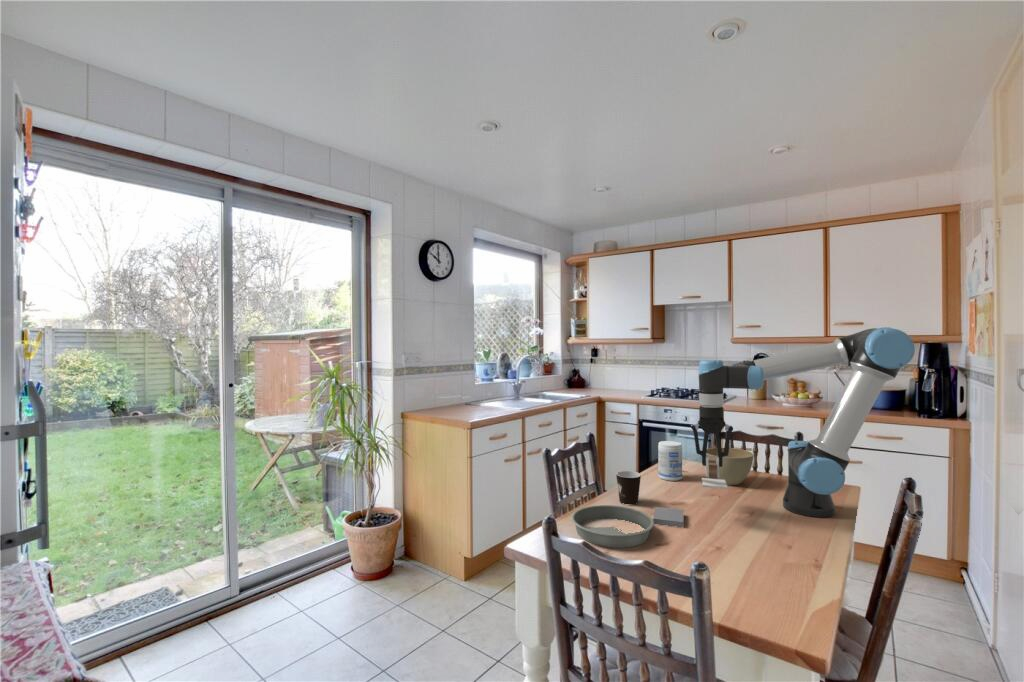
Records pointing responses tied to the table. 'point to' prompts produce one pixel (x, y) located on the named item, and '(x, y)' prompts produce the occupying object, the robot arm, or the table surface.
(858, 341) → the robot arm
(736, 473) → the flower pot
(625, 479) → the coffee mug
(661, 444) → the supplement tub
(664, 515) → the standing tile
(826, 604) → the table surface
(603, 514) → the cake pan
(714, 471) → the wooden handled spatula
